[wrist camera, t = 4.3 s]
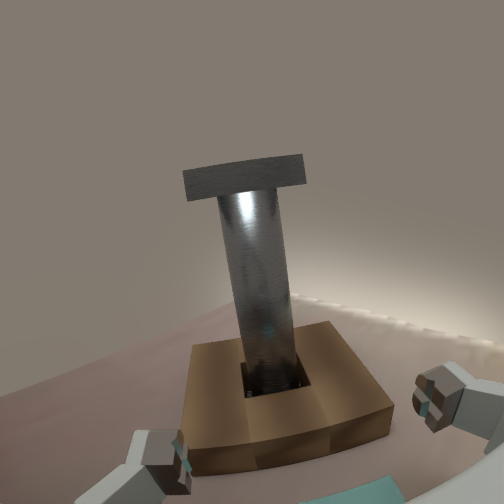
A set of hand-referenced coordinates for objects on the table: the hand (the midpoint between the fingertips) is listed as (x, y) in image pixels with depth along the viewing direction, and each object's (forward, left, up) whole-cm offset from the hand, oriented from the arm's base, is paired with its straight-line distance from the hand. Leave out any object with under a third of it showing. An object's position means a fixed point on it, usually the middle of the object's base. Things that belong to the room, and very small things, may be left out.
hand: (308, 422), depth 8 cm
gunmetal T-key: (0, +11, -9) cm, 14 cm away
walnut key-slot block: (0, +11, -9) cm, 14 cm away
